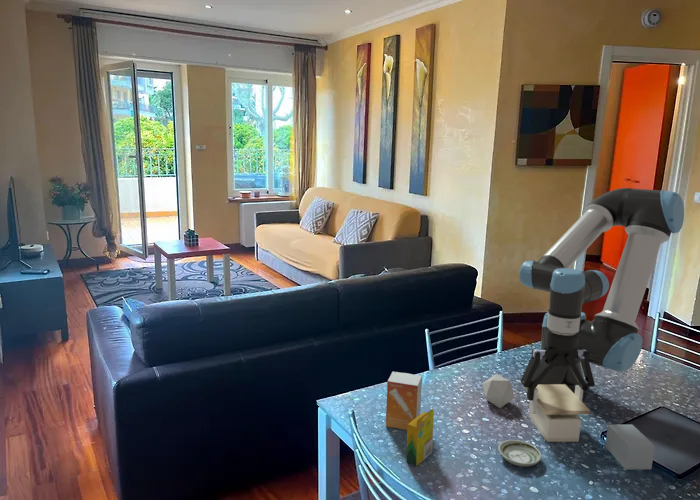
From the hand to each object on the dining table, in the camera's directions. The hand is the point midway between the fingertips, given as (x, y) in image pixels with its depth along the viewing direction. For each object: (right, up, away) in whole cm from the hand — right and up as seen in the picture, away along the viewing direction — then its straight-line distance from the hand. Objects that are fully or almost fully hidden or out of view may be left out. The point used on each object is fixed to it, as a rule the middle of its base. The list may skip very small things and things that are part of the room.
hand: (554, 410), depth 134 cm
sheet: (0, +3, -1) cm, 3 cm away
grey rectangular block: (+13, -8, -11) cm, 19 cm away
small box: (-39, -4, +2) cm, 39 cm away
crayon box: (-37, -7, -12) cm, 39 cm away
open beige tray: (0, -5, +1) cm, 5 cm away
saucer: (-13, -8, -12) cm, 20 cm away
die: (-11, -2, +14) cm, 18 cm away
